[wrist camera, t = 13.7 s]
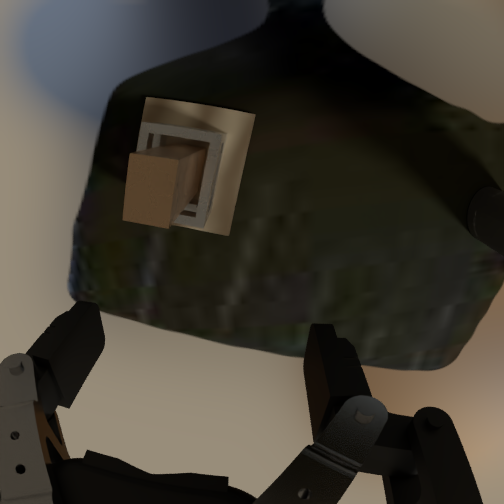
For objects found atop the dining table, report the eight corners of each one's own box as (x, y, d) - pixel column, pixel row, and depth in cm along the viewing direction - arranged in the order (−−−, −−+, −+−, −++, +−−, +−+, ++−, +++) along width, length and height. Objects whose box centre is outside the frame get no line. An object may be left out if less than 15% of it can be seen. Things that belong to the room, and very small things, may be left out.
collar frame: (227, 133, 37) (222, 134, 30) (211, 209, 41) (203, 228, 33) (162, 122, 36) (141, 121, 29) (149, 197, 40) (128, 213, 32)
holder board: (255, 115, 37) (255, 114, 36) (229, 233, 43) (228, 236, 42) (148, 97, 36) (146, 97, 35) (130, 213, 42) (128, 215, 41)
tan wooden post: (206, 147, 38) (178, 160, 23) (198, 191, 40) (168, 230, 25) (175, 143, 37) (129, 153, 22) (168, 186, 39) (122, 221, 24)
